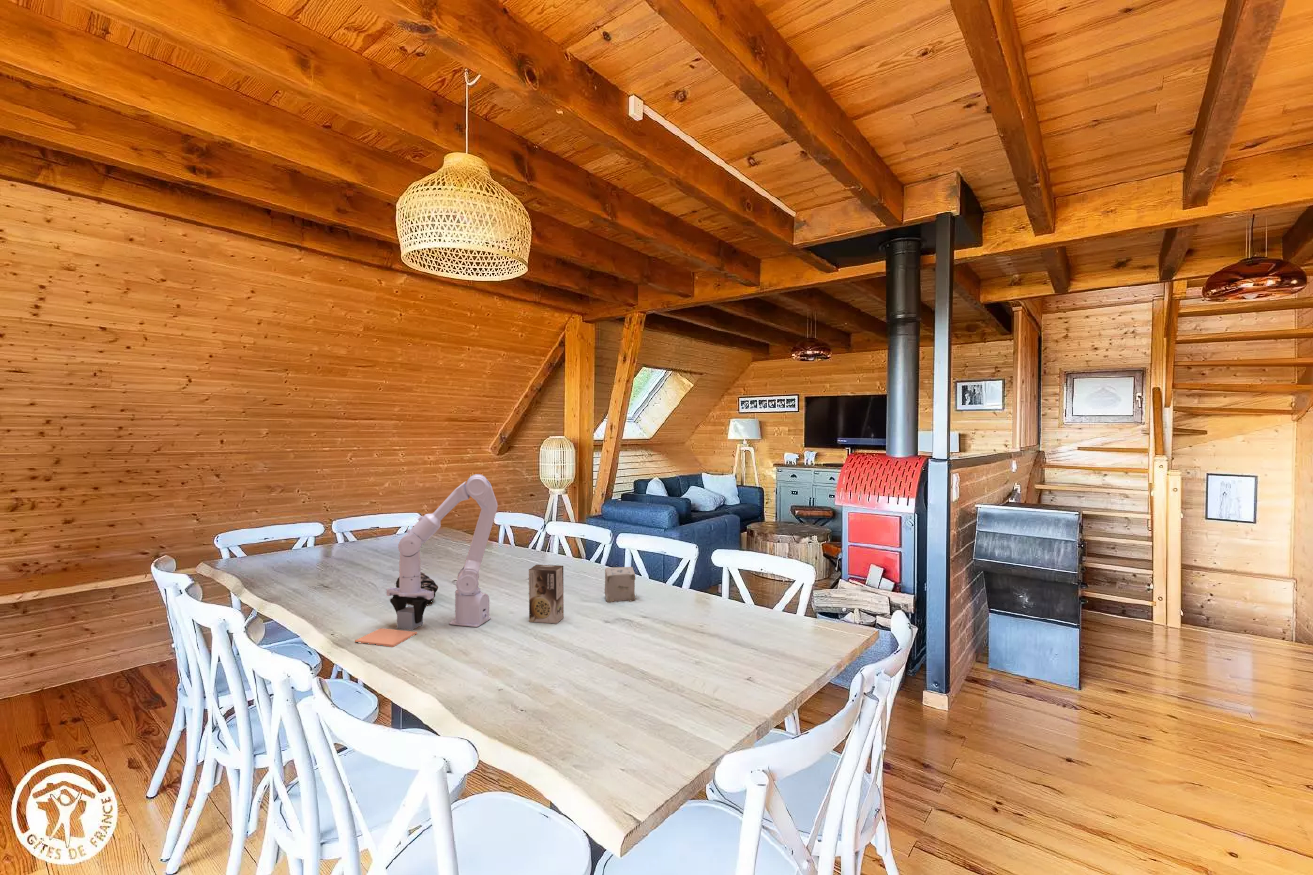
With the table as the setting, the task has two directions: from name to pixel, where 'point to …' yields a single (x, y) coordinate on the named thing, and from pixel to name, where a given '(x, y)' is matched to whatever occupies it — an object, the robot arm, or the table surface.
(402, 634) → the terracotta tile
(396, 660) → the table surface
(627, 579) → the brown cardboard box
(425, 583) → the pine cone
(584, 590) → the table surface
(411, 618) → the slate block
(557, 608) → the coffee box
